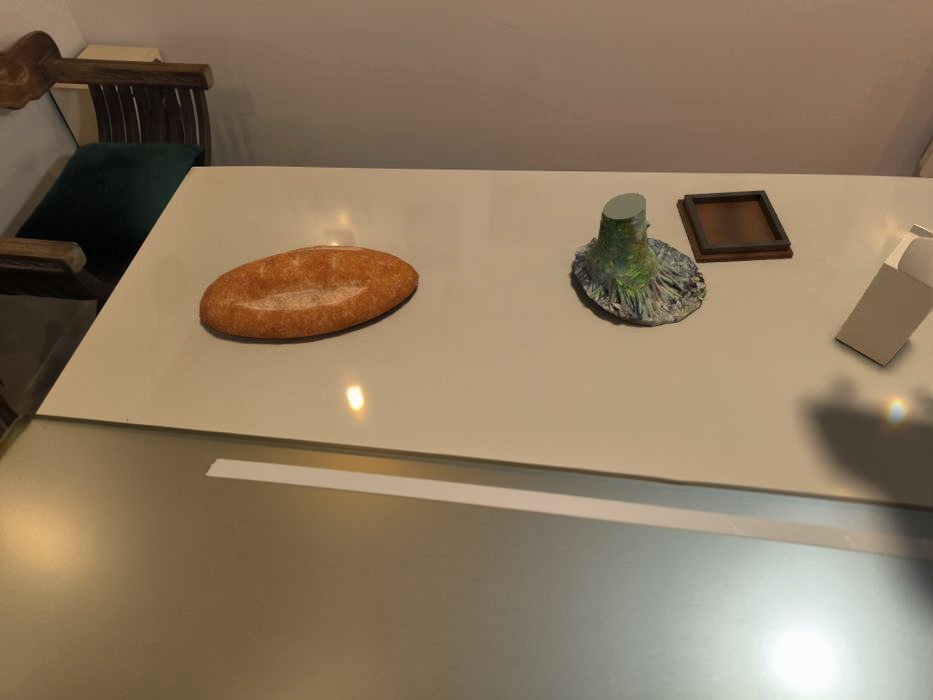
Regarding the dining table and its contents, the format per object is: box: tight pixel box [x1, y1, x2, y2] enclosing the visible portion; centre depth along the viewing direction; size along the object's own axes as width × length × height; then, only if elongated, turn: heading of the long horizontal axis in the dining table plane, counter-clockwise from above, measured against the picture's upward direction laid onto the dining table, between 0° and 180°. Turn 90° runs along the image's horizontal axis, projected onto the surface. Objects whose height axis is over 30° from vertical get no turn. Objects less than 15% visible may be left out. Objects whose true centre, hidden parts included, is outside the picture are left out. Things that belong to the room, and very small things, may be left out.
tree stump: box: [572, 192, 708, 327], centre depth 91 cm, size 18×20×18 cm
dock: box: [676, 189, 795, 264], centre depth 101 cm, size 15×15×2 cm
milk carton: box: [835, 223, 933, 366], centre depth 79 cm, size 7×7×19 cm
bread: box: [198, 244, 420, 339], centre depth 95 cm, size 18×35×9 cm, turn 97°
